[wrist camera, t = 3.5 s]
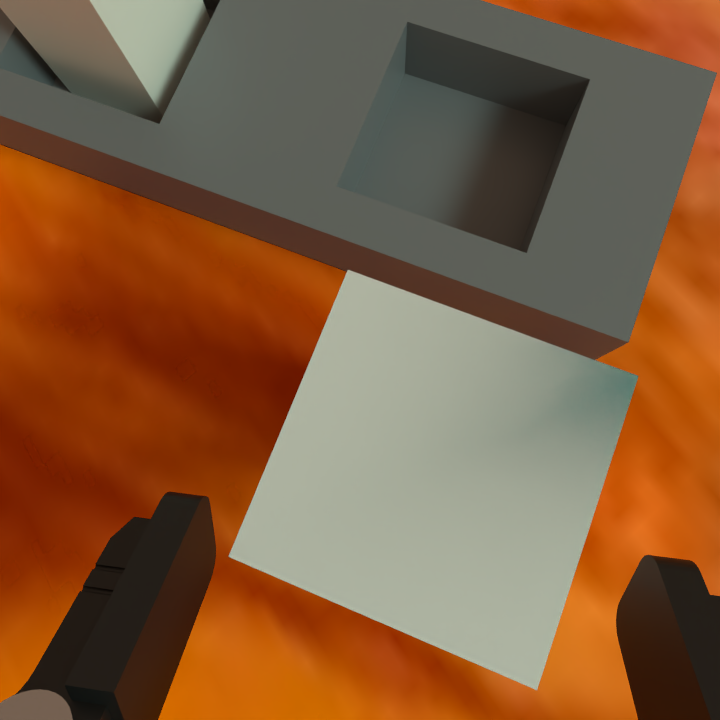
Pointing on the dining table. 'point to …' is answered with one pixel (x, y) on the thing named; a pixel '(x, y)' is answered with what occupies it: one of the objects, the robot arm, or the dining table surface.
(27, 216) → the dining table surface
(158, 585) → the robot arm
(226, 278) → the dining table surface
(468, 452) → the plug
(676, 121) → the two-hole peg board
